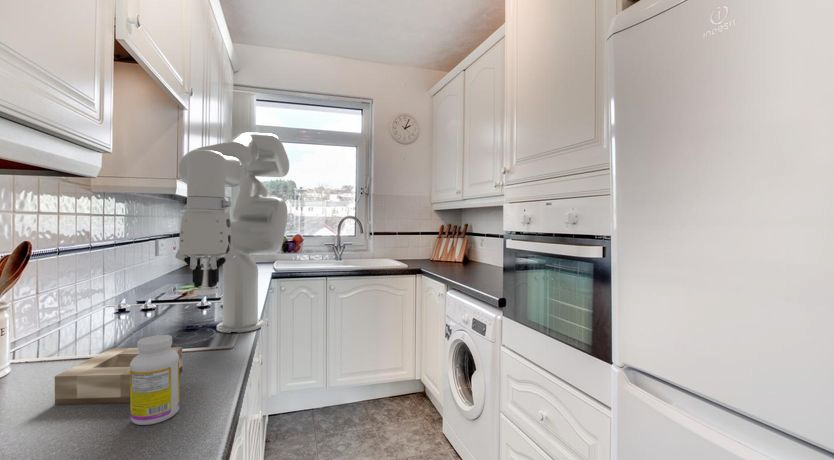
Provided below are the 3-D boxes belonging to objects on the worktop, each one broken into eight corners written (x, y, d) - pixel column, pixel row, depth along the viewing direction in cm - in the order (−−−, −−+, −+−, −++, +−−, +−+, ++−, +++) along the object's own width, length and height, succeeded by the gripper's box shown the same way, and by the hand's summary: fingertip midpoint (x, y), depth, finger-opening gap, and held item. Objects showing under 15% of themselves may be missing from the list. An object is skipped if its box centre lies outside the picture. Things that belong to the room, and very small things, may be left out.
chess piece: (207, 295, 83) (207, 250, 83) (187, 294, 84) (188, 249, 84) (222, 291, 88) (223, 249, 88) (204, 290, 89) (204, 248, 89)
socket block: (111, 372, 79) (111, 348, 79) (182, 370, 80) (182, 347, 80) (54, 404, 65) (54, 376, 65) (141, 402, 66) (141, 374, 66)
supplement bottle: (153, 404, 66) (153, 331, 65) (188, 407, 65) (188, 333, 65) (119, 425, 59) (118, 344, 59) (158, 428, 58) (157, 346, 58)
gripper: (248, 207, 90) (247, 283, 91) (176, 205, 88) (176, 283, 89) (237, 205, 83) (236, 289, 83) (159, 204, 81) (158, 289, 81)
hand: (205, 285), depth 86 cm, fingers closed on chess piece
